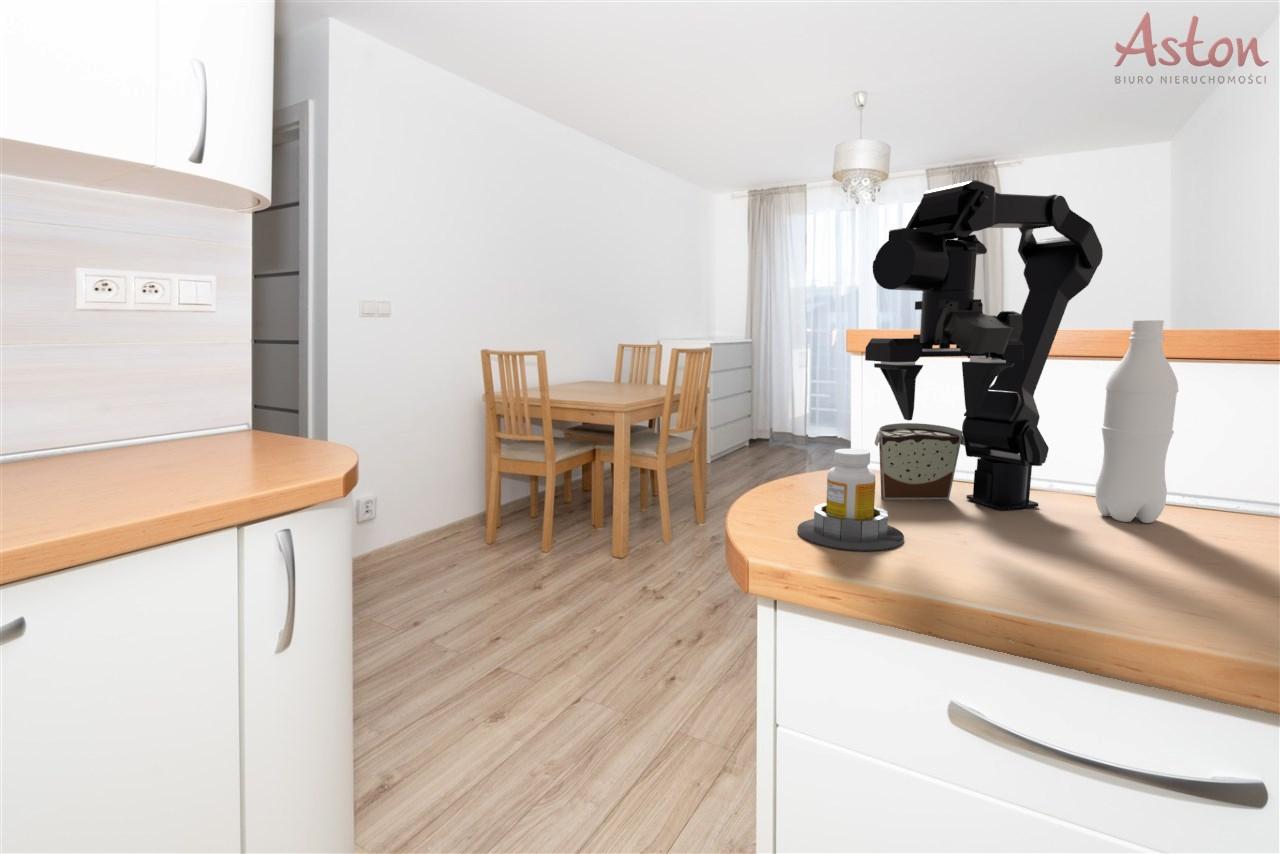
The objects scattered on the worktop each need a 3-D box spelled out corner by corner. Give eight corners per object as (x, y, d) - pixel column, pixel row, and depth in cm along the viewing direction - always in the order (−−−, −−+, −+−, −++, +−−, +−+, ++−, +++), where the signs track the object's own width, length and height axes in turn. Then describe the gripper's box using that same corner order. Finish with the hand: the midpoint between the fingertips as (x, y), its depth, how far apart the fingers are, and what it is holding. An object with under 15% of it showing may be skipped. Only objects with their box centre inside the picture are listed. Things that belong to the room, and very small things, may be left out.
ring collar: (865, 516, 83) (866, 495, 83) (926, 546, 72) (928, 521, 72) (780, 524, 81) (781, 501, 80) (830, 555, 69) (831, 529, 69)
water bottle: (1167, 529, 77) (1192, 319, 74) (1095, 520, 81) (1115, 320, 77) (1158, 515, 83) (1180, 320, 80) (1091, 507, 87) (1109, 321, 84)
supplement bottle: (872, 526, 78) (875, 448, 77) (874, 540, 73) (878, 456, 71) (825, 523, 80) (828, 446, 78) (824, 536, 74) (827, 454, 73)
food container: (941, 486, 98) (947, 422, 96) (959, 499, 92) (966, 431, 90) (859, 486, 98) (863, 422, 96) (872, 499, 92) (877, 431, 90)
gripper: (925, 286, 68) (916, 431, 71) (1068, 288, 73) (1056, 424, 75) (865, 293, 79) (860, 418, 81) (993, 294, 83) (984, 413, 86)
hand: (940, 418), depth 81 cm, fingers open, 9 cm apart
